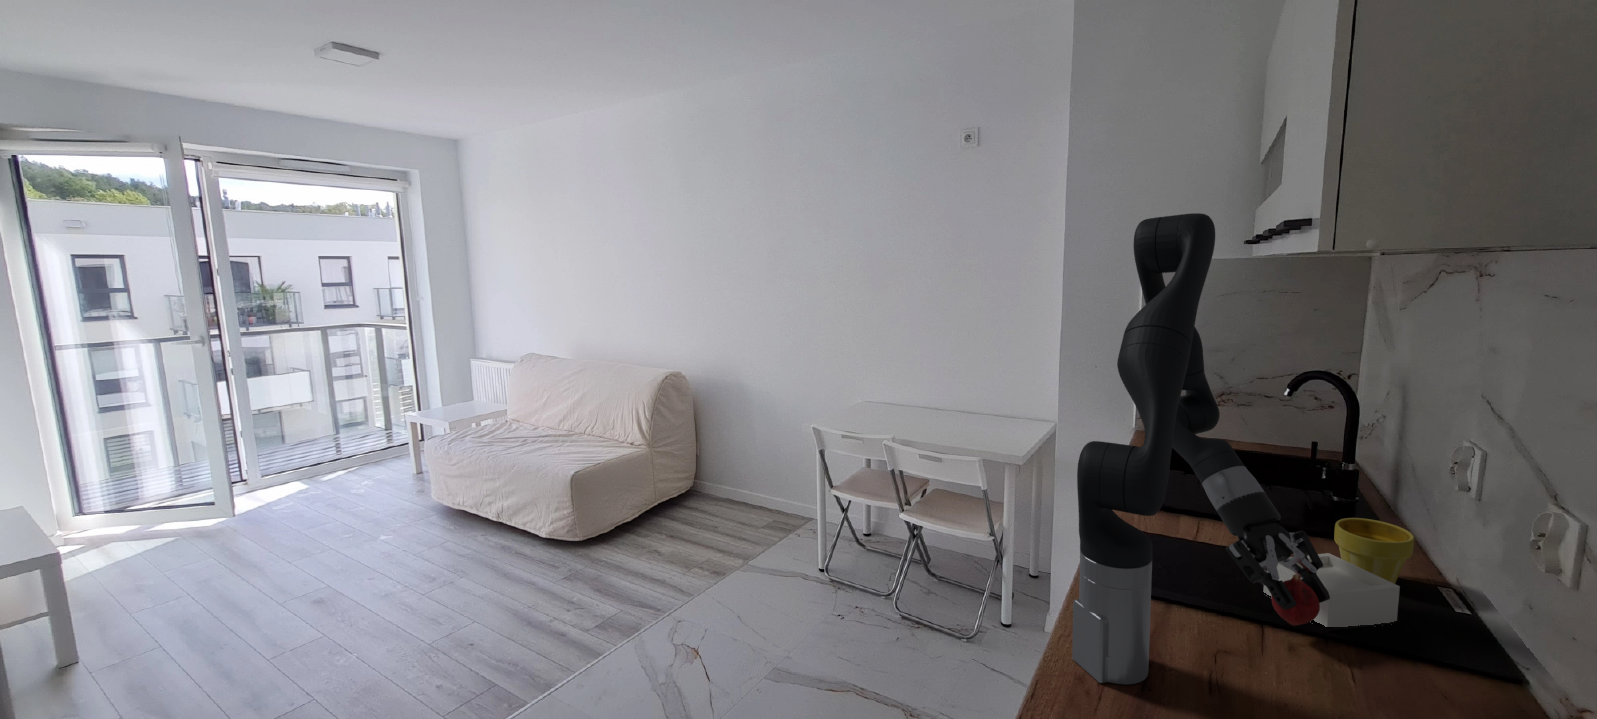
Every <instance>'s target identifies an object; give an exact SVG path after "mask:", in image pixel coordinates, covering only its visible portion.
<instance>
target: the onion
mask: <svg viewBox="0 0 1597 719" xmlns="http://www.w3.org/2000/svg"><path fill="white" fill-rule="evenodd" d="M1300 578H1301V577H1300V576H1299V575H1297V574H1295V575H1293V578H1292V579H1291V580H1287V581H1284V582H1283V583H1284V584H1285V586H1286V587H1287V589H1288V591H1289V592H1290V594H1291V595H1292V597H1293V598H1294V600H1295V601H1296V604H1297V605H1296V606H1295V607H1293V608H1290V609H1286V610H1284V609H1282V608H1281V606H1279V605H1278V604H1277V603H1276V601H1275V599H1274V598H1273V596H1272V595H1271V598H1270V599H1271V604H1272V607H1273V609H1274V610H1275V612H1276V613H1277V614H1278V616H1279V617H1280V618H1281V619H1282V620H1284V621H1285V622H1287V624H1289V625H1290V626H1300V625H1305V624H1308V623H1311V621H1312V620H1313V619H1315V618H1316V616H1317V615H1318V613H1319V611H1320V604H1319V600H1318V597H1317V595H1316V593H1315V592H1314V591H1313V590H1312V589H1311V588H1310V587H1309V586H1308V585H1307V584H1305V583H1304V582H1302V580H1301V579H1300Z"/></svg>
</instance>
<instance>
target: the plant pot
mask: <svg viewBox="0 0 1597 719" xmlns="http://www.w3.org/2000/svg"><path fill="white" fill-rule="evenodd" d="M1333 535H1334V538H1333V540H1334V541H1335V544H1336V545H1337V546H1338V549H1339V555H1340V559H1342V560H1345V561H1347V562H1349V563H1351V564H1353V565H1355V566H1357V567H1359V568H1362V569H1364V570H1366V571H1368V572H1370V573H1372V574H1374V575H1377V576H1379V577H1381V578H1383V579H1385V580H1387V581H1389V582H1391V583H1394V584H1397V583H1396V582H1397V581H1398V578H1399V575H1400V574H1401V571H1402V569H1403V567H1404V564H1405V562H1406V560H1408V559H1410V558H1411V557H1412V556H1413V552H1414V548H1415V546H1414V544H1415V536H1414V535H1413V534H1412V533H1411V532H1410V531H1409V530H1407V529H1405V528H1403V527H1401V526H1398V525H1395V524H1392V523H1388V522H1385V521H1382V520H1377V519H1376V520H1375V519H1369V518H1364V517H1363V518H1362V517H1361V518H1360V517H1348V518H1347V517H1346V518H1340V519H1339V520H1337V521H1336V522H1335V524H1334V534H1333Z"/></svg>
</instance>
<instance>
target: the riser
mask: <svg viewBox="0 0 1597 719" xmlns="http://www.w3.org/2000/svg"><path fill="white" fill-rule="evenodd" d="M1317 554H1318V556H1319V558H1320V559H1321V561H1322V563H1323V567H1321V568H1319V569H1318V570H1317V572H1316V574H1317V576H1318V577H1319V579H1320V580H1321V582H1322V583H1323V585H1324V586H1325V588H1326V589H1327V591H1328V593H1329V596H1330V599H1329V600H1327V601H1324V602H1321V603H1319V604H1320V611H1319V613H1318V615H1317V616H1316V618H1315V619H1313V620H1314V621H1315V622H1317V623H1320V624H1322V625H1324V626H1325V627H1348V626H1358V625H1359V626H1360V625H1374V624H1381V623H1390V622H1394V621H1397V622H1398V612H1399V602H1400V601H1399V598H1400V588H1401V586H1400V585H1398V584H1397V583H1395V584H1394V583H1391V582H1389V581H1387V580H1385V579H1383V578H1381V577H1379V576H1377V575H1374V574H1372V573H1370V572H1368V571H1366V570H1364V569H1362V568H1359V567H1357V566H1355V565H1353V564H1351V563H1349V562H1347V561H1345V560H1342V559H1341V557H1338V556H1336V555H1333V554H1331V553H1330V552H1325V553H1317ZM1291 557H1292V556H1291ZM1291 557H1289V558H1291ZM1307 558H1308V560H1309V562H1312V560H1311V559H1310V557H1309V555H1308V556H1307ZM1296 564H1297V565H1298V566H1299V567H1301V568H1303V566H1302V565H1300V564H1299V563H1296ZM1277 571H1278V575H1279V580H1278V581H1281V580H1282V581H1283V582H1284V581H1287V580H1291V579H1292V578H1293V575H1295V574H1296V573H1295V572H1294V571H1293V570H1291V569H1290V568H1287V567H1285V566H1283V565H1282V564H1281V563H1280V562H1278V565H1277ZM1267 572H1268V571H1267ZM1300 579H1303V578H1300ZM1263 592H1264V593H1266V594H1267V595H1269V596H1271V593H1270V591H1269V590H1268V588H1267V587H1266V586H1265V585H1263V591H1262V593H1263ZM1267 595H1266V596H1267Z"/></svg>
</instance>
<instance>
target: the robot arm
mask: <svg viewBox="0 0 1597 719" xmlns="http://www.w3.org/2000/svg"><path fill="white" fill-rule="evenodd" d="M1215 227H1216V226H1215V224H1214V220H1213V218H1211V217H1210V216H1209V215H1208V214H1205V213H1200V212H1199V213H1184V214H1183V213H1182V214H1181V213H1180V214H1175V215H1165V216H1159V217H1157V216H1156V217H1151V218H1149V217H1148V218H1146V219H1143V220H1141V221H1140V222H1139V223H1138V224H1137V226H1136V228H1135V232H1134V236H1133V254H1134V255H1133V256H1134V263H1135V267H1136V270H1137V276H1138V280H1139V283H1140V287H1141V291H1142V297H1143V299H1144V303H1145V305H1144V306H1143V307H1142V308H1141V309H1140V310H1139V311H1137V313H1136V314H1134V316H1133V317H1132V318H1131V319H1130V320H1129V322H1128V323H1127V325H1126V328H1124V331H1123V332H1124V333H1123V336H1122V340H1121V345H1120V348H1119V353H1118V356H1117V361H1116V365H1117V370H1118V371H1117V372H1118V374H1119V376H1120V379H1121V381H1122V384H1123V386H1124V387H1125V389H1126V391H1127V393H1128V395H1129V397H1130V398H1131V399H1132V401H1133V403H1134V405H1135V407H1136V410H1137V412H1138V414H1139V417H1140V420H1141V422H1142V425H1143V427H1144V428H1143V430H1144V441H1143V444H1142V445H1141V446H1138V445H1137V446H1136V445H1130V444H1122V443H1117V442H1115V443H1114V442H1109V441H1107V442H1106V441H1100V440H1092V441H1089V442H1087V443H1086V444H1085V445H1084V446H1083V448H1082V449H1081V451H1080V454H1079V457H1078V461H1077V469H1076V470H1077V471H1076V479H1077V480H1076V484H1077V485H1076V486H1077V487H1076V488H1077V502H1078V504H1077V505H1078V534H1079V535H1078V536H1079V581H1078V582H1079V585H1078V587H1079V590H1078V592H1079V593H1078V596H1079V597H1078V598H1076V599H1073V602H1072V603H1073V604H1072V656H1071V658H1072V660H1073V661H1074V662H1075V663H1076V664H1078V666H1080V668H1082V669H1083V670H1084V671H1086V672H1087V674H1088V675H1090V676H1091V677H1092V678H1093V679H1095V680H1096V681H1097V682H1098V683H1099V684H1104V683H1112V684H1117V685H1135V684H1138V683H1139V684H1140V683H1142V682H1143V681H1144V680H1146V679H1147V677H1148V675H1149V661H1150V660H1149V659H1150V636H1151V635H1150V634H1151V632H1150V630H1151V603H1152V601H1151V600H1152V598H1151V597H1152V596H1151V595H1152V575H1153V574H1152V571H1153V543H1152V540H1151V539H1150V537H1149V536H1148V535H1147V534H1146V533H1145V532H1144V531H1142V530H1140V529H1139V528H1137V527H1135V526H1134V525H1132V524H1130V523H1128V522H1127V521H1125V519H1123V518H1121V517H1120V516H1119V515H1118V514H1117V513H1116V512H1115V511H1118V512H1123V513H1127V514H1133V515H1137V516H1144V517H1153V516H1155V515H1157V514H1158V513H1159V512H1160V510H1161V509H1162V506H1163V504H1164V502H1165V499H1166V496H1167V495H1166V494H1167V489H1168V484H1169V478H1170V477H1169V475H1170V470H1171V469H1170V468H1171V461H1172V451H1173V450H1174V451H1175V452H1176V453H1177V454H1179V455H1180V457H1181V458H1183V459H1184V461H1185V462H1187V463H1188V464H1189V466H1190V467H1191V469H1192V470H1193V472H1194V474H1195V475H1196V477H1197V479H1198V480H1199V482H1200V484H1201V485H1202V487H1203V489H1204V491H1205V493H1206V495H1207V498H1208V499H1209V501H1210V503H1211V504H1212V506H1213V508H1214V509H1215V511H1216V512H1217V514H1218V516H1219V518H1221V520H1222V522H1223V524H1224V525H1225V527H1226V529H1227V530H1228V532H1229V533H1230V534H1231V535H1232V536H1234V537H1237V539H1238V540H1237V541H1234V542H1232V543H1231V544H1230V545H1228V546H1226V547H1225V551H1226V552H1227V554H1228V555H1229V556H1230V557H1231V559H1232V561H1233V562H1235V564H1236V565H1237V567H1238V568H1239V569H1240V571H1241V572H1242V574H1244V576H1245V577H1246V578H1247V580H1248V581H1249V582H1250V583H1252V584H1255V583H1258V584H1261V585H1263V586H1264V585H1265V586H1266V587H1267V588H1268V590H1269V591H1270V593H1271V595H1272V596H1273V598H1274V599H1275V601H1276V603H1277V604H1278V605H1279V606H1281V608H1282V609H1284V610H1286V609H1290V608H1293V607H1295V606H1296V605H1297V604H1296V601H1295V600H1294V598H1293V597H1292V595H1291V594H1290V592H1289V591H1288V589H1287V587H1286V586H1285V584H1284V583H1283V581H1282V580H1281V581H1278V580H1279V575H1278V571H1277V565H1278V562H1280V563H1281V564H1282V565H1283V566H1285V567H1287V568H1290V569H1291V570H1293V571H1294V572H1295V573H1296V574H1297V575H1299V576H1300V577H1301V578H1303V579H1301V580H1302V582H1304V583H1305V584H1307V585H1308V586H1309V587H1310V588H1311V589H1312V590H1313V591H1314V592H1315V593H1316V595H1317V597H1318V600H1319V603H1321V602H1324V601H1327V600H1329V599H1330V596H1329V593H1328V591H1327V589H1326V588H1325V586H1324V585H1323V583H1322V582H1321V580H1320V579H1319V577H1318V576H1317V574H1316V572H1317V570H1318V569H1319V568H1321V567H1323V563H1322V561H1321V559H1320V558H1319V556H1318V554H1319V553H1317V550H1316V549H1315V546H1314V545H1313V543H1312V541H1311V539H1310V538H1309V536H1308V534H1307V532H1306V531H1305V530H1301V529H1300V530H1298V531H1296V532H1289V531H1288V530H1287V529H1286V528H1284V527H1283V525H1281V523H1280V522H1281V519H1282V517H1281V514H1280V512H1279V511H1278V509H1277V508H1276V507H1275V505H1274V503H1273V502H1272V500H1271V499H1270V498H1269V496H1268V495H1267V493H1266V492H1265V491H1264V489H1263V487H1262V486H1261V484H1260V483H1259V482H1258V481H1257V479H1256V478H1255V477H1254V476H1253V474H1252V473H1251V471H1249V470H1248V468H1247V467H1246V466H1245V464H1244V463H1243V462H1242V460H1241V459H1240V457H1239V456H1238V453H1236V451H1235V450H1234V448H1233V447H1232V445H1231V444H1230V443H1229V442H1228V441H1227V440H1225V439H1223V438H1204V437H1199V436H1198V435H1197V434H1202V433H1205V432H1209V431H1212V430H1213V429H1215V427H1216V426H1217V424H1218V422H1219V420H1220V416H1221V415H1220V408H1219V406H1218V404H1217V401H1216V399H1215V398H1214V395H1213V393H1212V390H1211V388H1210V385H1209V382H1208V379H1207V377H1206V373H1205V360H1204V350H1203V349H1204V347H1203V342H1202V339H1201V336H1200V333H1199V332H1198V330H1197V329H1198V328H1196V326H1195V325H1196V320H1197V319H1196V318H1197V313H1198V309H1199V304H1200V299H1201V297H1202V292H1203V289H1204V286H1205V282H1206V279H1207V276H1208V273H1209V270H1210V267H1211V266H1210V265H1211V263H1212V260H1213V259H1212V258H1213V255H1214V251H1215V244H1216V228H1215ZM1164 273H1165V274H1166V273H1167V274H1169V273H1174V275H1173V277H1172V278H1171V280H1170V281H1169V282H1168V283H1167V284H1166V283H1165V281H1164V280H1165V279H1164V275H1163V274H1164ZM1182 391H1185V395H1182ZM1181 395H1182V396H1181ZM1292 555H1293V556H1292ZM1308 555H1309V557H1310V559H1311V560H1312V562H1309V560H1308V558H1307V556H1308ZM1289 557H1291V558H1289ZM1296 563H1299V564H1300V565H1302V566H1303V568H1301V567H1299V566H1298V565H1297V564H1296ZM1250 567H1251V568H1250ZM1267 571H1268V572H1267Z"/></svg>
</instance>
